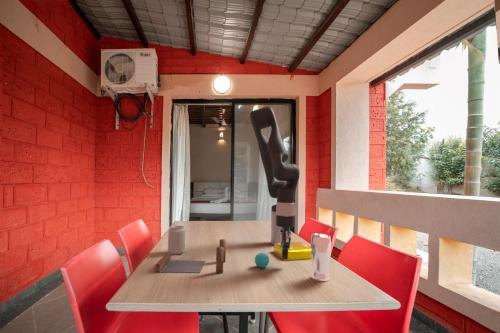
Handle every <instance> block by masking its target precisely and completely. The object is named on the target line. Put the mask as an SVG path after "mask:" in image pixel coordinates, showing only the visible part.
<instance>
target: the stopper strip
mask: <svg viewBox="0 0 500 333" xmlns="http://www.w3.org/2000/svg"><path fill="white" fill-rule="evenodd" d="M171 255H172V254H171V253H169V252H168V253H166V254H164V256H162V257H161V258H160V259H159V260H158V261H157V262H156V263H155V273H158V274H159V273H161V272H162V271H163V270H164V268H165V267H166V266H167V265H168V264H169V263H170V262H171Z"/></svg>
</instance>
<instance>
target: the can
mask: <svg viewBox="0 0 500 333" xmlns="http://www.w3.org/2000/svg"><path fill="white" fill-rule="evenodd" d="M167 236H168V238H167V239H168V240H167V252H168V253H171V255H173V256H174V255H176V256H177V255H182V254H183V253H184V252H185V250H186V229H185V226H183V225H172V226H170V227H169V229H168V235H167Z"/></svg>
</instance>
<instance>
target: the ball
mask: <svg viewBox="0 0 500 333" xmlns="http://www.w3.org/2000/svg"><path fill="white" fill-rule="evenodd" d="M254 263H255V265H256V266H257V267H259V268H267V266H268V265H269V263H270V258H269V256H268V254H267V253H265V252H259V253H257V254H256V255H255V258H254Z"/></svg>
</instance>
